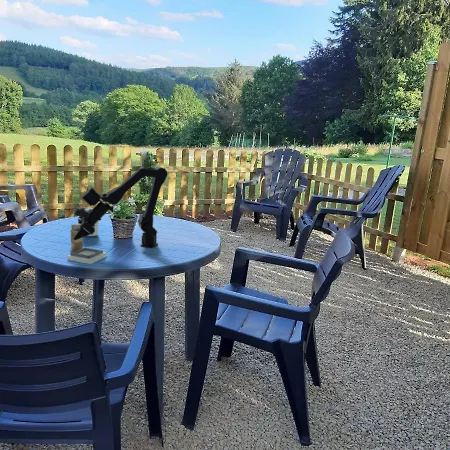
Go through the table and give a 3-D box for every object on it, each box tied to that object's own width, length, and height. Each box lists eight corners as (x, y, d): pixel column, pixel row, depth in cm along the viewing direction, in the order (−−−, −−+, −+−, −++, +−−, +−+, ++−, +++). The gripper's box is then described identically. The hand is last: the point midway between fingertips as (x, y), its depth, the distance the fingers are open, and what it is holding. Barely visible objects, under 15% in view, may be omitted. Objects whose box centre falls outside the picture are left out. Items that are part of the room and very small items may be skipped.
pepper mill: (85, 249, 198) (84, 224, 195) (78, 252, 193) (77, 226, 190) (76, 248, 200) (75, 222, 197) (68, 251, 195) (67, 225, 192)
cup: (89, 239, 215) (88, 212, 212) (78, 236, 220) (77, 209, 216) (102, 236, 222) (101, 209, 219) (92, 233, 227) (91, 207, 223)
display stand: (106, 256, 190) (105, 250, 189) (90, 264, 180) (90, 257, 179) (83, 253, 194) (83, 246, 193) (67, 259, 184) (67, 253, 183)
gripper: (82, 197, 201) (58, 220, 199) (86, 204, 184) (60, 230, 183) (100, 212, 206) (77, 235, 204) (105, 221, 189) (80, 246, 188)
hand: (73, 236), depth 195 cm, fingers open, 9 cm apart
